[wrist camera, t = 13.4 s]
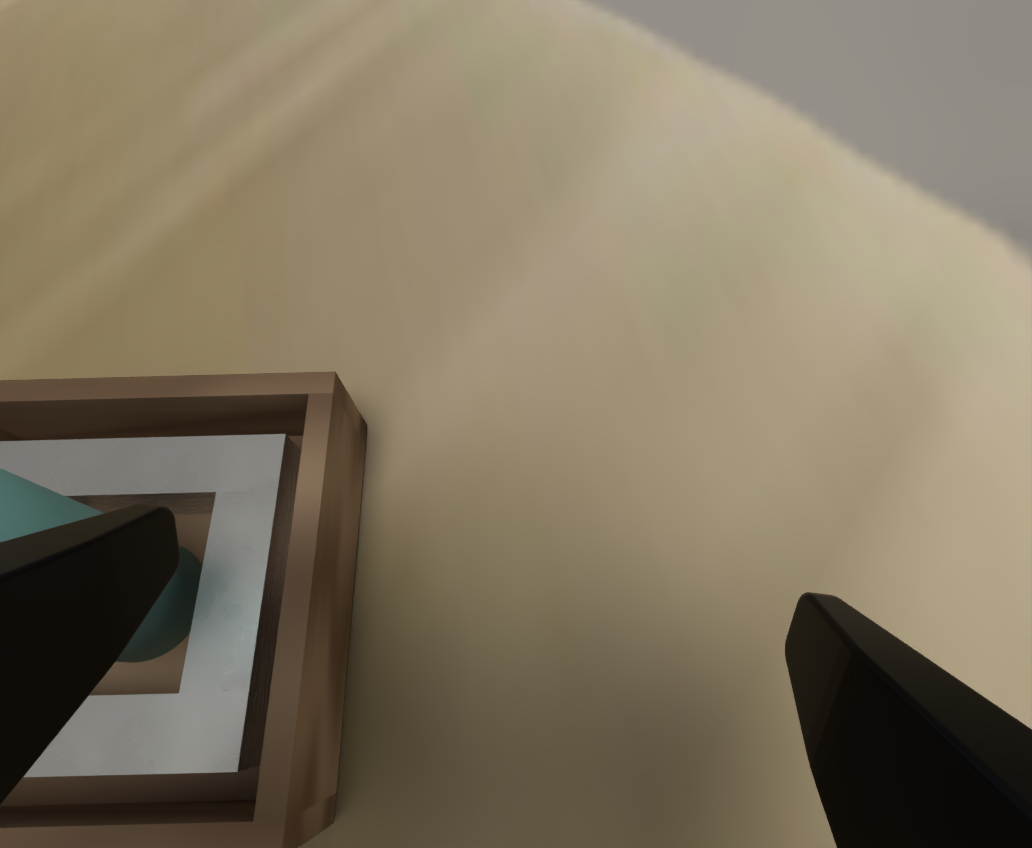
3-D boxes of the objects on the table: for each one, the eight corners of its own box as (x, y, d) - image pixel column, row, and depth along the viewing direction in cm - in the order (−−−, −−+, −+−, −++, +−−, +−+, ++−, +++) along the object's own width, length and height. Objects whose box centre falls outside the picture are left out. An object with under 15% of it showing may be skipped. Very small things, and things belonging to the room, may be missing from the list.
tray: (333, 822, 19) (280, 859, 15) (-100, 833, 19) (-273, 873, 15) (367, 425, 24) (335, 371, 20) (31, 434, 24) (-69, 382, 20)
